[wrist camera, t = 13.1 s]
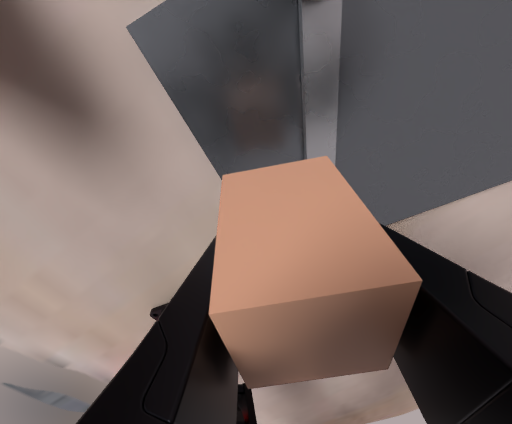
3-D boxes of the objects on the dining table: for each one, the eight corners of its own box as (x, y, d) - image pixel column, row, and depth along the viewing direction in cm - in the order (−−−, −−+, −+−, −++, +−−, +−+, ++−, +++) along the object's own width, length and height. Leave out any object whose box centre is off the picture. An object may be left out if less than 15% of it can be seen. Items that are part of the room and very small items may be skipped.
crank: (344, 223, 16) (369, 264, 13) (291, 231, 16) (303, 274, 13) (371, -104, 8) (452, -189, 5) (263, -81, 8) (278, -149, 5)
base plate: (520, 164, 16) (536, 171, 15) (273, 255, 19) (275, 265, 18) (630, -296, 7) (685, -342, 6) (134, 27, 10) (125, 27, 9)
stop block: (326, 234, 10) (388, 369, 6) (243, 248, 10) (248, 389, 6) (326, 155, 8) (422, 280, 4) (222, 174, 8) (208, 314, 4)
